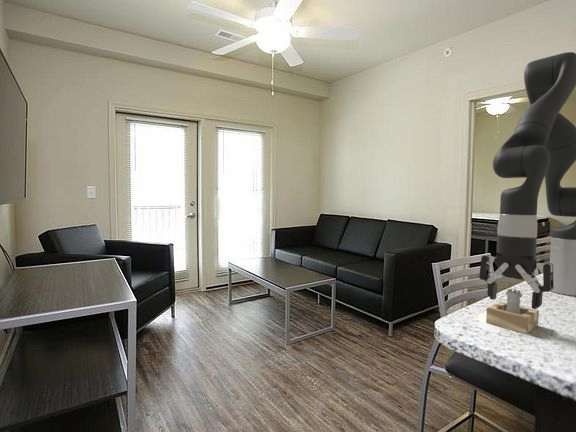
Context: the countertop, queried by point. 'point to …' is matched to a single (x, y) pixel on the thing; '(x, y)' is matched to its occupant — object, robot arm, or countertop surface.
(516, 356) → the countertop surface
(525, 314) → the socket block
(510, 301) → the rook chess piece
